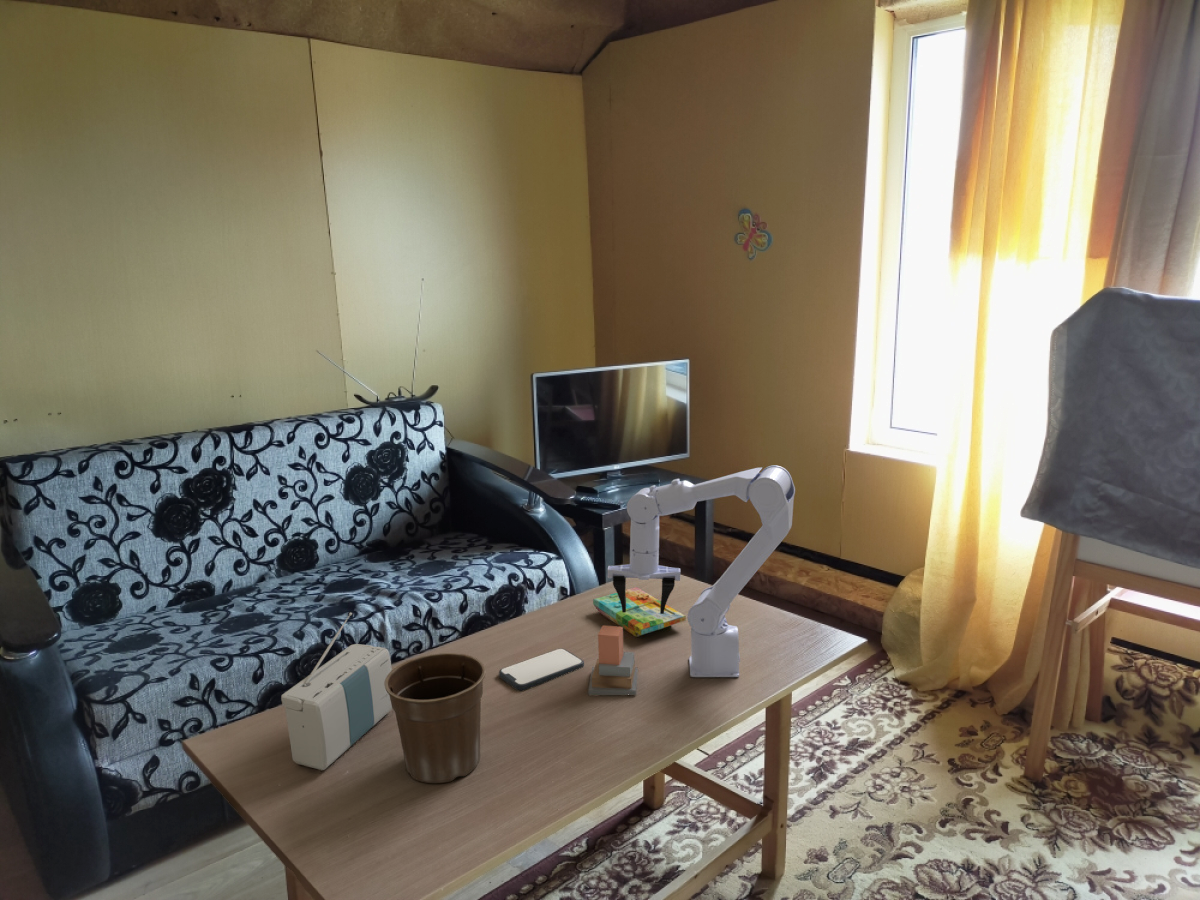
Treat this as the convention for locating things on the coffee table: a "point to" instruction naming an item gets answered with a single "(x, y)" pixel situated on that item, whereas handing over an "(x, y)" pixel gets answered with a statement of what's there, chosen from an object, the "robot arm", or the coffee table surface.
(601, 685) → the tower middle slab
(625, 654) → the tower top slab
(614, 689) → the tower base slab
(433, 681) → the plant pot
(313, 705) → the stereo radio cassette player
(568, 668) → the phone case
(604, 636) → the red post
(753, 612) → the coffee table surface
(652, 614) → the puzzle game
